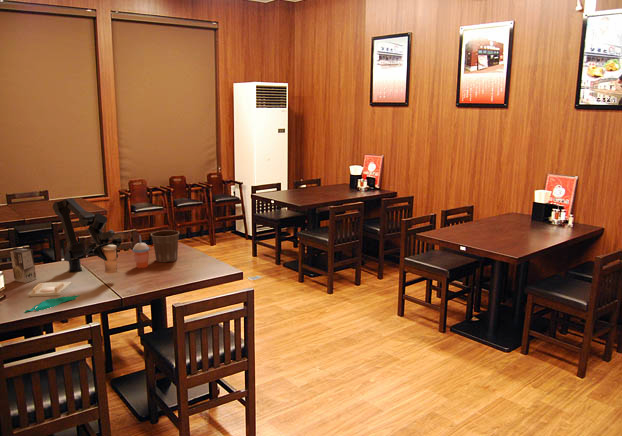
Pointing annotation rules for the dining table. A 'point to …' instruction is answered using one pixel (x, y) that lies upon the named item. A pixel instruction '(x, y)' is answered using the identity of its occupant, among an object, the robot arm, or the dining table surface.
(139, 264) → the cup with straw
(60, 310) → the dining table surface
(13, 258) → the coffee box
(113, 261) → the bobbin
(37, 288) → the cream square tray
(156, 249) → the plant pot
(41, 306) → the cloth
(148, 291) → the dining table surface
